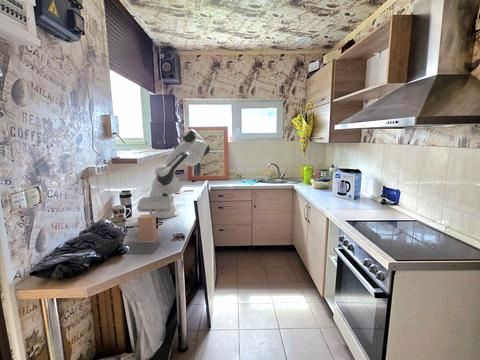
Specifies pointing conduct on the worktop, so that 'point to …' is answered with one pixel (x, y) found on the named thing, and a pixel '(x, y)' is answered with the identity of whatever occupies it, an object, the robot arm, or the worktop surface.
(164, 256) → the worktop surface
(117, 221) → the food container
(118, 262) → the worktop surface
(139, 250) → the mat
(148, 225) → the terracotta block
